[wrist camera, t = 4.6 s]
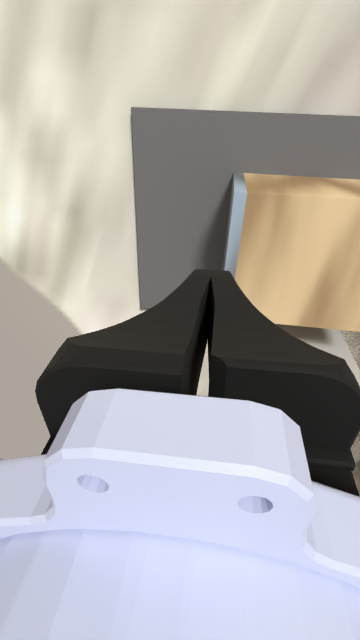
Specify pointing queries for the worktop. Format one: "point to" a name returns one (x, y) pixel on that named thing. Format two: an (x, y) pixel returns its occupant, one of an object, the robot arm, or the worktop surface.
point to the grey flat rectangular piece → (217, 178)
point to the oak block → (297, 248)
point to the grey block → (325, 343)
